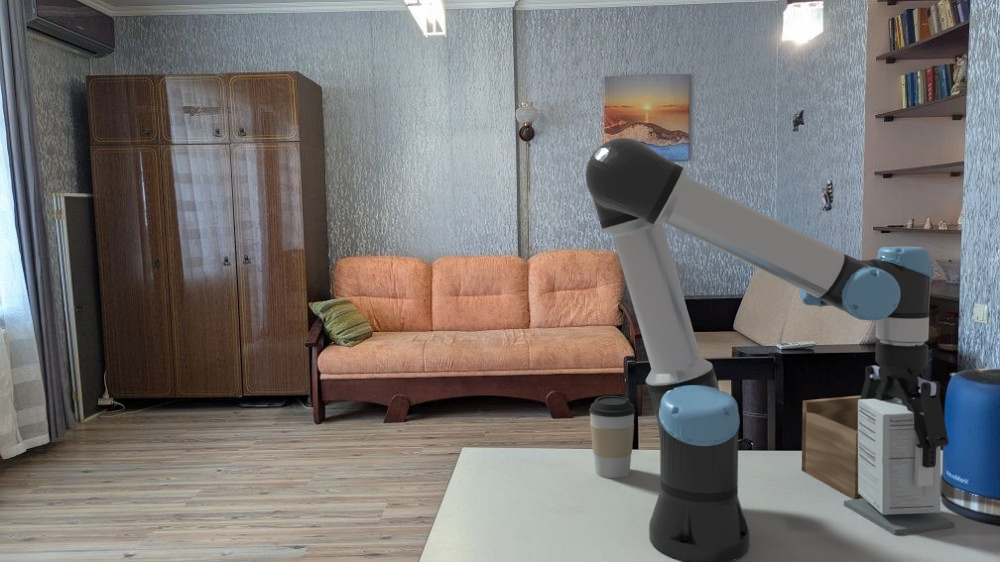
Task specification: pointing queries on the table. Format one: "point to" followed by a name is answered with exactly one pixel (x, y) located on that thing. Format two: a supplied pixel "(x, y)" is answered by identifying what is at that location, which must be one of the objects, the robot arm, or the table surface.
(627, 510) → the table surface
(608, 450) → the coffee cup
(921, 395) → the robot arm
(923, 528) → the rubber mat
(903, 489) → the supplement box
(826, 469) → the walnut bay
